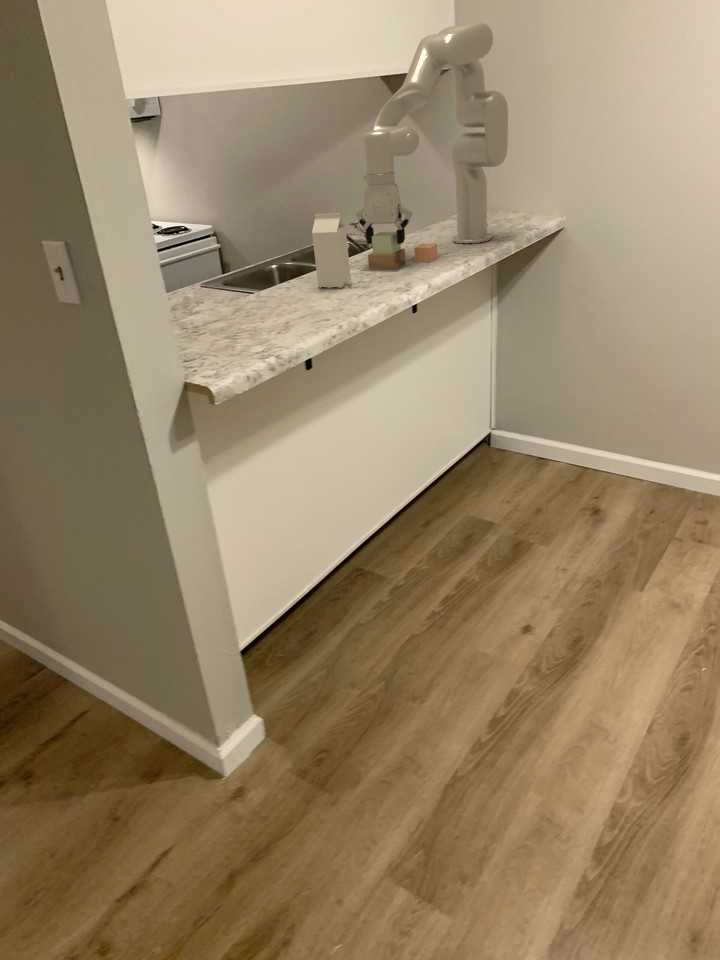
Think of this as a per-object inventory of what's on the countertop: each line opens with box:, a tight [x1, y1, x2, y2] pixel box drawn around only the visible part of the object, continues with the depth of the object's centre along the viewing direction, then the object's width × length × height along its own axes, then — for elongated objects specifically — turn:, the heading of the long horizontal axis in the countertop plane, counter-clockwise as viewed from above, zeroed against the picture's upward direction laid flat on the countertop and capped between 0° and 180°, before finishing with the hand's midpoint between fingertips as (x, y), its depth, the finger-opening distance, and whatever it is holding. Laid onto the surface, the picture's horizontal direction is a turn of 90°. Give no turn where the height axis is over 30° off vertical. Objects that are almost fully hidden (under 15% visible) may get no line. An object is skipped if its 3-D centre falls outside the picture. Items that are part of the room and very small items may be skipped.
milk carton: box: [311, 212, 352, 289], centre depth 199 cm, size 7×7×19 cm
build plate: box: [359, 260, 415, 273], centre depth 214 cm, size 12×12×1 cm
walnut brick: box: [367, 248, 406, 270], centre depth 213 cm, size 8×8×4 cm
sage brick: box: [371, 231, 402, 254], centre depth 211 cm, size 6×6×5 cm
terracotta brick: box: [414, 243, 439, 263], centre depth 215 cm, size 5×5×5 cm
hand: (385, 243), depth 211 cm, fingers open, 9 cm apart
